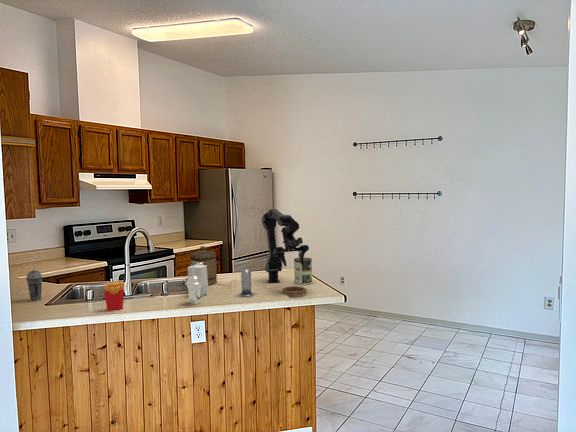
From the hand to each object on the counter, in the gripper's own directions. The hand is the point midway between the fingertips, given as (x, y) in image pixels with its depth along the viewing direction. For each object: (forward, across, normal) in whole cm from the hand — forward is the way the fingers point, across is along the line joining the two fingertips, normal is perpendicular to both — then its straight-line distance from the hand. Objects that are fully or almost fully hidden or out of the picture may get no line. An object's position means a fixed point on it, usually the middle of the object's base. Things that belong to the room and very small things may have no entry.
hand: (294, 265), depth 228 cm
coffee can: (+5, +14, +25) cm, 30 cm away
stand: (+11, -24, +12) cm, 29 cm away
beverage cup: (-7, -125, +50) cm, 135 cm away
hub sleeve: (+10, -24, +11) cm, 29 cm away
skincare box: (+5, -46, +25) cm, 53 cm away
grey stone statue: (+11, -51, +12) cm, 53 cm away
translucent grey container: (-6, -38, +48) cm, 61 cm away
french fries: (+8, -87, +18) cm, 89 cm away
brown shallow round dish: (+14, 0, +6) cm, 15 cm away
